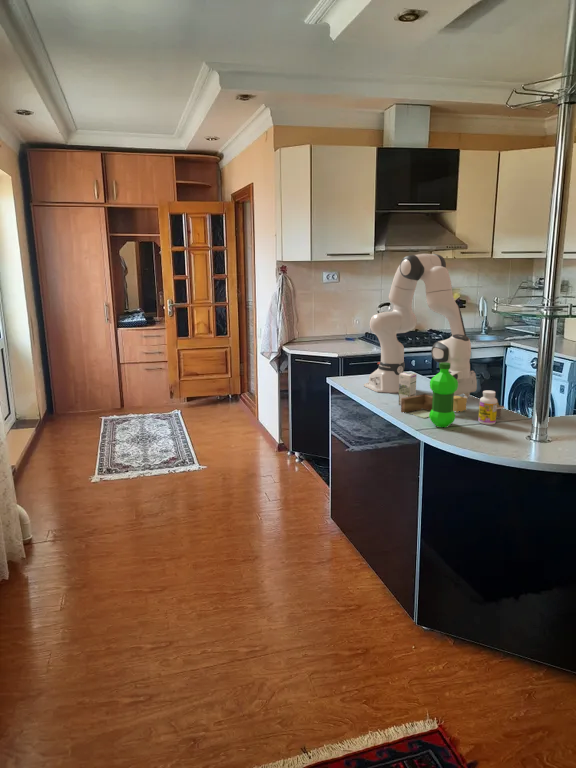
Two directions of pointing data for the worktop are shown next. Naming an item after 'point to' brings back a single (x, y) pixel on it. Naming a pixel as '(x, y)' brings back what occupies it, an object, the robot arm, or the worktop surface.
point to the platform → (499, 410)
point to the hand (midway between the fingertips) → (457, 404)
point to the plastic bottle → (443, 396)
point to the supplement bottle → (487, 408)
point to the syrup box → (407, 385)
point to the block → (459, 403)
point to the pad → (421, 414)
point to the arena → (416, 403)
